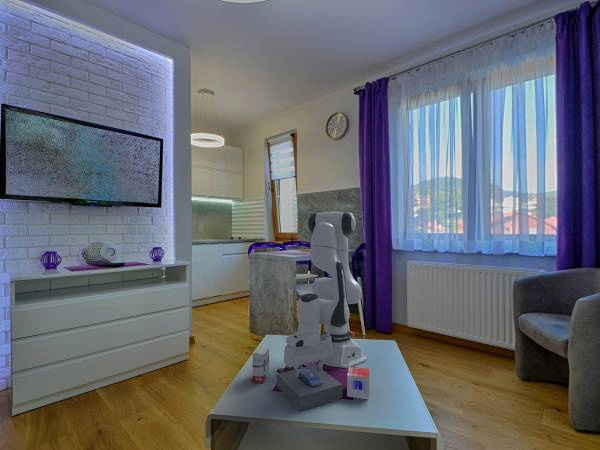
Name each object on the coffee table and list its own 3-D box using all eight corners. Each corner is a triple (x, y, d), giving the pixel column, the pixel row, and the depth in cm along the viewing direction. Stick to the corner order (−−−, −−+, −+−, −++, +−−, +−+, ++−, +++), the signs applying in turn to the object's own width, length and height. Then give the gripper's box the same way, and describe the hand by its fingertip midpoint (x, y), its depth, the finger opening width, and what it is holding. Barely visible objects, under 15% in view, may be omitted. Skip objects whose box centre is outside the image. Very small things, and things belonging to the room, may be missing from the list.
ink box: (263, 383, 126) (263, 354, 126) (251, 382, 127) (252, 353, 127) (269, 374, 134) (269, 346, 134) (258, 373, 135) (259, 345, 135)
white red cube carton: (369, 389, 123) (369, 368, 123) (368, 399, 115) (368, 377, 115) (348, 386, 125) (348, 366, 125) (346, 396, 117) (346, 375, 117)
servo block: (304, 383, 126) (304, 364, 126) (322, 399, 115) (322, 378, 115) (296, 386, 124) (296, 366, 124) (312, 401, 113) (312, 380, 113)
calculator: (276, 371, 138) (276, 364, 138) (301, 367, 142) (301, 360, 142) (283, 380, 129) (283, 373, 129) (309, 376, 133) (309, 369, 133)
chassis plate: (315, 376, 132) (315, 364, 132) (342, 398, 116) (342, 384, 116) (276, 386, 124) (276, 373, 124) (299, 411, 107) (299, 396, 107)
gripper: (327, 330, 128) (327, 364, 128) (281, 339, 118) (281, 375, 118) (335, 335, 122) (336, 370, 122) (289, 344, 113) (289, 383, 113)
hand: (309, 373), depth 120 cm, fingers open, 8 cm apart
